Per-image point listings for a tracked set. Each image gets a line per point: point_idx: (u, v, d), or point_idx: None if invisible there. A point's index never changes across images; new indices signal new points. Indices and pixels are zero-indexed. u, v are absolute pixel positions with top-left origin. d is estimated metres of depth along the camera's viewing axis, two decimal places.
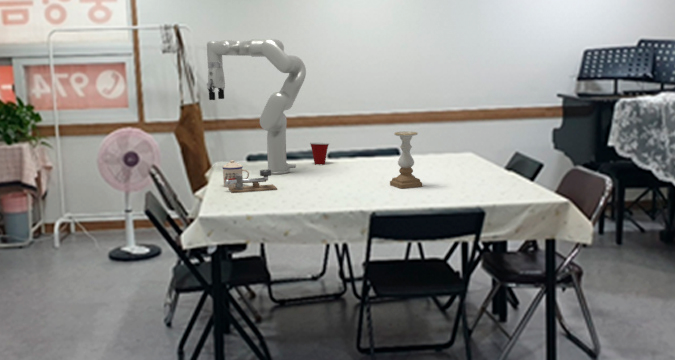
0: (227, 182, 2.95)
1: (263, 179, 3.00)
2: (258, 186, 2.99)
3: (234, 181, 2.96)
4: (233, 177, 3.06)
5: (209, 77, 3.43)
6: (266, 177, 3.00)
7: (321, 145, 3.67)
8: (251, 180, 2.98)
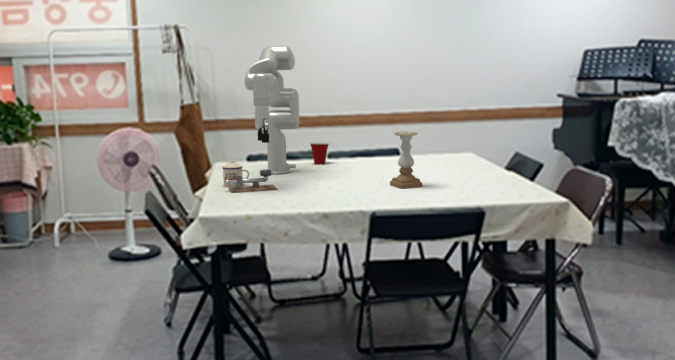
0: (227, 182, 2.95)
1: (263, 179, 3.00)
2: (258, 186, 2.99)
3: (234, 181, 2.96)
4: (233, 177, 3.06)
5: None
6: (266, 177, 3.00)
7: (321, 145, 3.67)
8: (251, 180, 2.98)
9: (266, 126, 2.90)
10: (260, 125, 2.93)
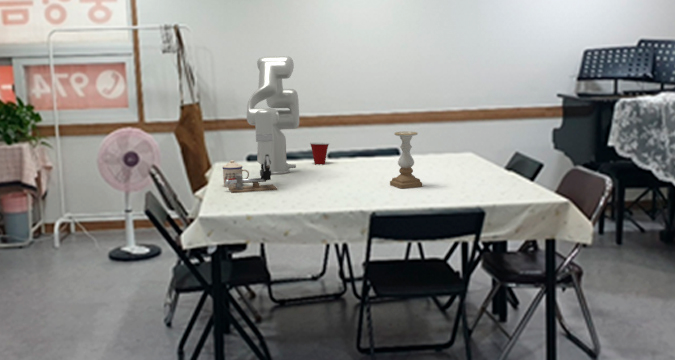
0: (227, 182, 2.95)
1: None
2: (258, 186, 2.99)
3: (234, 181, 2.96)
4: (233, 177, 3.06)
5: None
6: None
7: (321, 145, 3.67)
8: (251, 180, 2.98)
9: (268, 166, 2.94)
10: (262, 161, 2.94)
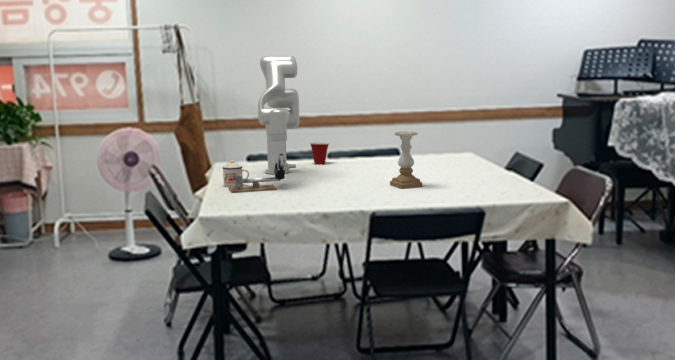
0: None
1: None
2: (258, 186, 2.99)
3: (248, 180, 2.98)
4: (233, 177, 3.06)
5: None
6: None
7: (321, 145, 3.67)
8: (265, 179, 3.00)
9: (282, 165, 2.95)
10: (276, 160, 2.96)
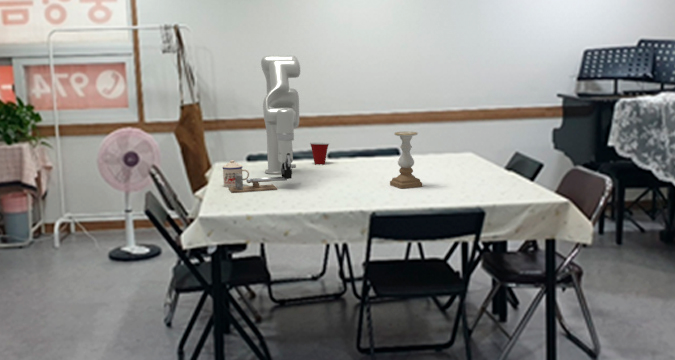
0: (248, 181, 2.98)
1: (284, 178, 3.03)
2: (258, 186, 2.99)
3: (255, 180, 2.99)
4: (233, 177, 3.06)
5: None
6: None
7: (321, 145, 3.67)
8: (272, 179, 3.01)
9: (289, 165, 2.96)
10: (284, 160, 2.97)
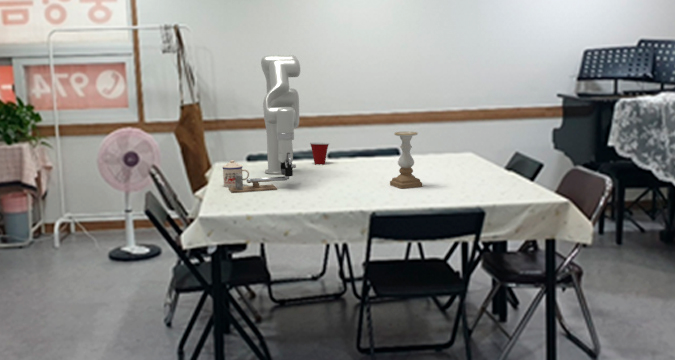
0: (249, 181, 2.98)
1: (284, 178, 3.03)
2: (258, 186, 2.99)
3: (256, 180, 2.99)
4: (233, 177, 3.06)
5: None
6: (287, 176, 3.03)
7: (321, 145, 3.67)
8: (272, 179, 3.01)
9: (290, 161, 2.95)
10: (284, 159, 2.97)
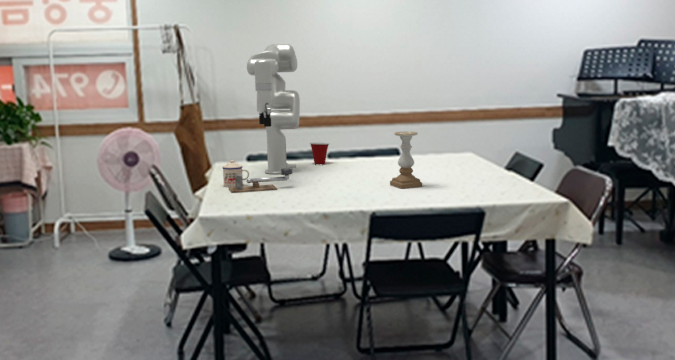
0: (249, 181, 2.98)
1: (284, 178, 3.03)
2: (258, 186, 2.99)
3: (256, 180, 2.99)
4: (233, 177, 3.06)
5: None
6: (287, 176, 3.03)
7: (321, 145, 3.67)
8: (272, 179, 3.01)
9: (268, 111, 3.00)
10: (262, 110, 3.02)
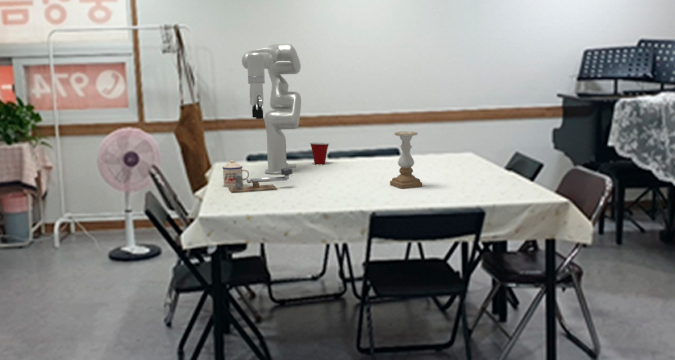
0: (249, 181, 2.98)
1: (284, 178, 3.03)
2: (258, 186, 2.99)
3: (256, 180, 2.99)
4: (233, 177, 3.06)
5: None
6: (287, 176, 3.03)
7: (321, 145, 3.67)
8: (272, 179, 3.01)
9: (260, 103, 3.02)
10: (254, 102, 3.04)
